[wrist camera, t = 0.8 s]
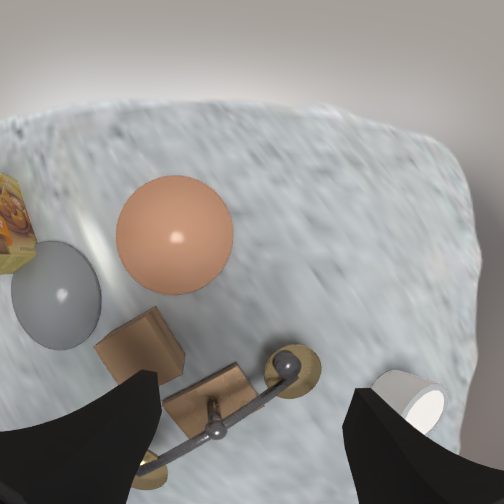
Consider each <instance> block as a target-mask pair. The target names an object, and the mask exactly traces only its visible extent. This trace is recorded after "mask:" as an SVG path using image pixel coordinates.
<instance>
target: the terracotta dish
mask: <svg viewBox="0 0 504 504" xmlns="http://www.w3.org/2000/svg"><path fill="white" fill-rule="evenodd" d="M232 243H233V226H232V220H231V217H230V214H229V211H228V209H227V207H226V205H225V203H224V202H223V200H222V199H221V198H220V196H219V195H218V194H217V193H216V192H215V191H214V190H213V189H212V188H210V187H209V186H207V185H206V184H204V183H203V182H201V181H199V180H196V179H193V178H190V177H185V176H166V177H161V178H158V179H155V180H152V181H150V182H148V183H146V184H145V185H143V186H142V187H140V188H139V189H138V190H137V191H135V192H134V193H133V194H132V195H131V197H130V198H129V199H128V200H127V202H126V203H125V205H124V207H123V209H122V211H121V213H120V216H119V218H118V223H117V228H116V244H117V250H118V253H119V257H120V259H121V261H122V263H123V265H124V267H125V268H126V270H127V271H128V273H129V274H130V275H131V276H132V277H133V278H134V279H135V280H136V281H137V282H138V283H140V284H141V285H142V286H144V287H146V288H148V289H150V290H152V291H155V292H157V293H162V294H168V295H181V294H186V293H190V292H193V291H196V290H198V289H200V288H202V287H204V286H205V285H207V284H208V283H210V282H211V281H212V280H213V279H214V278H215V277H216V276H217V275H218V274H219V273H220V272H221V270H222V269H223V267H224V266H225V264H226V262H227V260H228V258H229V255H230V252H231V248H232Z"/></svg>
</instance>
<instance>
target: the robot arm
mask: <svg viewBox="0 0 504 504" xmlns="http://www.w3.org/2000/svg"><path fill="white" fill-rule="evenodd" d="M161 413H162V409H161V402H160V394H159V385H158V375H157V372H154V371H149V370H144V369H141V370H140V371H138V372H137V373H135V374H134V375H133V376H131V377H130V378H128V379H127V380H125V381H124V382H123V383H121V384H120V385H118V386H117V387H115V388H114V389H112V390H111V391H109V392H108V393H106V394H105V395H103V396H102V397H100V398H98V399H96V400H95V401H93V402H91V403H89V404H88V405H86V406H84V407H82V408H80V409H78V410H76V411H74V412H72V413H70V414H68V415H65V416H63V417H61V418H58V419H55V420H52V421H49V422H46V423H43V424H39V425H36V426H32V427H28V428H23V429H18V430H12V431H4V432H0V504H126V501H127V498H128V495H129V491H130V488H131V485H132V482H133V480H134V477H135V475H136V473H137V471H138V469H139V467H140V464H141V462H142V460H143V458H144V456H145V454H146V452H147V450H148V448H149V446H150V443H151V441H152V439H153V437H154V435H155V432H156V429H157V426H158V423H159V419H160V416H161ZM342 429H343V438H344V445H345V451H346V454H347V458H348V462H349V466H350V469H351V473H352V476H353V480H354V484H355V487H356V491H357V496H358V501H359V504H504V471H503V470H498V469H493V468H490V467H487V466H484V465H481V464H478V463H475V462H472V461H470V460H467V459H465V458H463V457H461V456H459V455H457V454H454V453H452V452H451V451H449V450H447V449H445V448H444V447H442V446H440V445H439V444H437V443H435V442H434V441H432V440H431V439H429V438H428V437H426V436H425V435H424V434H422V433H421V432H420V431H419V430H417V429H416V428H415V427H413V426H412V425H411V424H410V423H409V422H407V421H406V420H405V419H404V418H403V417H402V416H401V415H399V414H398V413H397V412H396V411H395V410H394V409H393V408H392V407H391V406H390V405H389V404H388V403H386V402H385V401H384V400H383V399H382V398H381V397H380V396H379V395H378V394H377V393H376V392H375V391H374V390H372V389H371V388H355V391H354V394H353V397H352V400H351V403H350V406H349V409H348V412H347V415H346V417H345V420H344V423H343V425H342Z"/></svg>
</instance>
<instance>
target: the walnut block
mask: <svg viewBox="0 0 504 504" xmlns="http://www.w3.org/2000/svg"><path fill="white" fill-rule="evenodd" d="M94 349H95V350H96V352H97V353H98V355H99V357H100V358H101V360H102V361H103V363H104V364H105V366H106V367H107V369H108V370H109V372H110V373H111V375H112V376H113V378H114V379H115V381H116V382H117V383H118V385H120V384H121V383H123V382H124V381H125V380H127V379H128V378H130V377H131V376H133V375H134V374H135V373H137V372H138V371H140V370H141V369H144V370H149V371H154V372H157V375H158V385H159V386H160V385H162V384H164V383H166V382H168V381H170V380H172V379H174V378H176V377H178V376H180V375H182V374H183V367H184V360H185V352H184V351H183V349H182V348H181V346H180V345H179V343H178V342H177V340H176V339H175V337H174V335H173V334H172V332H171V331H170V329H169V327H168V326H167V324H166V322H165V321H164V319H163V318H162V316H161V314H160V313H159V311H158V309H157V308H156V306H155V307H153V308H152V309H150V310H148V311H146V312H145V313H143V314H141V315H139V316H138V317H136V318H134V319H132V320H131V321H129V322H127V323H125V324H124V325H122V326H120V327H118V328H117V329H115V330H113V331H111V332H110V333H109V334H108V335H107V336H105V337H104V338H103V339H102V340H101V341H99V342H98V343H97V344H96V345H95V346H94Z"/></svg>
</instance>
